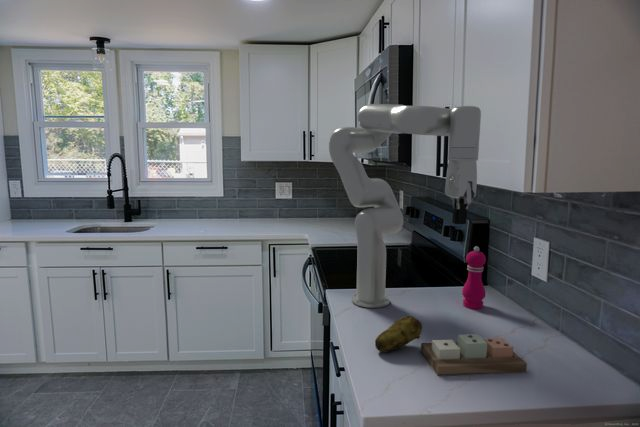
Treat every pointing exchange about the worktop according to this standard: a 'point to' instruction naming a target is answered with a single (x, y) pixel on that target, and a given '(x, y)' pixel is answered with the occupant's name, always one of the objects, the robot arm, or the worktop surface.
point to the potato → (399, 334)
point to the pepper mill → (474, 280)
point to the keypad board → (473, 364)
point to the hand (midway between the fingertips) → (459, 223)
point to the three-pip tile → (498, 348)
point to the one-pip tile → (445, 349)
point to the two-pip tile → (472, 346)
